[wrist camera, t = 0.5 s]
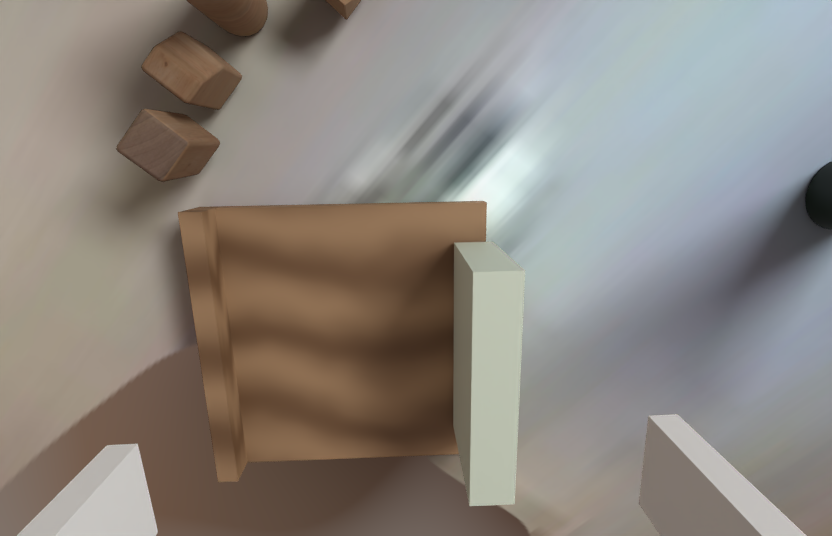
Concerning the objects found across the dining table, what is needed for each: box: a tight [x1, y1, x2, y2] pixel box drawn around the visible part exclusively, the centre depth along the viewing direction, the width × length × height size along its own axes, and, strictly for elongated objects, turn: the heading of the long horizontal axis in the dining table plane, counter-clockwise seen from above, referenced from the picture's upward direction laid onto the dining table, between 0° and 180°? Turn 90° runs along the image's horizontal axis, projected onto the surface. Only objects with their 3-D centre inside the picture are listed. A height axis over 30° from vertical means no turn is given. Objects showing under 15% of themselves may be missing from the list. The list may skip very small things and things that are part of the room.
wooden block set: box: [116, 0, 361, 182], centre depth 26 cm, size 18×9×10 cm, turn 140°
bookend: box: [453, 242, 525, 506], centre depth 31 cm, size 16×3×9 cm, turn 1°
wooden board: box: [178, 201, 487, 482], centre depth 35 cm, size 22×22×4 cm
